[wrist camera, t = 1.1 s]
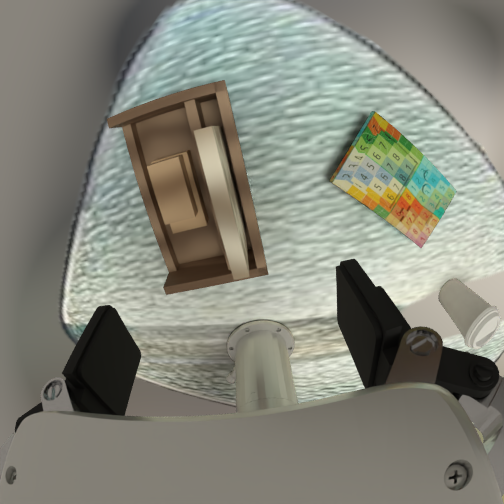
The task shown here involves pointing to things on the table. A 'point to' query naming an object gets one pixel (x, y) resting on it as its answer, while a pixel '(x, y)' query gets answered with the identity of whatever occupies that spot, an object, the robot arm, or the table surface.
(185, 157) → the tan wooden block
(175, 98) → the walnut rack
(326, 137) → the table surface
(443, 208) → the puzzle game
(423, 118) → the table surface
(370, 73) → the table surface
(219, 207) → the birch sheet
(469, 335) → the coffee cup
